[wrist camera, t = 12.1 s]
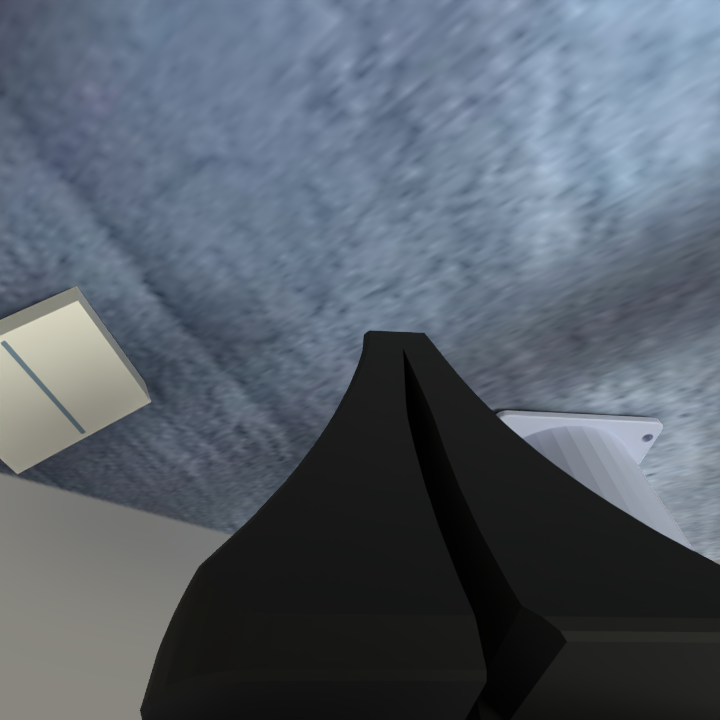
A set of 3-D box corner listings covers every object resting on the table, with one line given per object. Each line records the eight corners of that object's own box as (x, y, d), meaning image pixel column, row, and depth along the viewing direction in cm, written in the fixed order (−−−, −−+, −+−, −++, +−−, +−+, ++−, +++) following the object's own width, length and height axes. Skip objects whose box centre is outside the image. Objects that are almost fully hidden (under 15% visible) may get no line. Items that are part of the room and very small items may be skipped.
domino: (151, 402, 18) (17, 474, 17) (145, 382, 20) (20, 447, 18) (77, 300, 16) (-90, 376, 14) (76, 285, 17) (-77, 353, 16)
